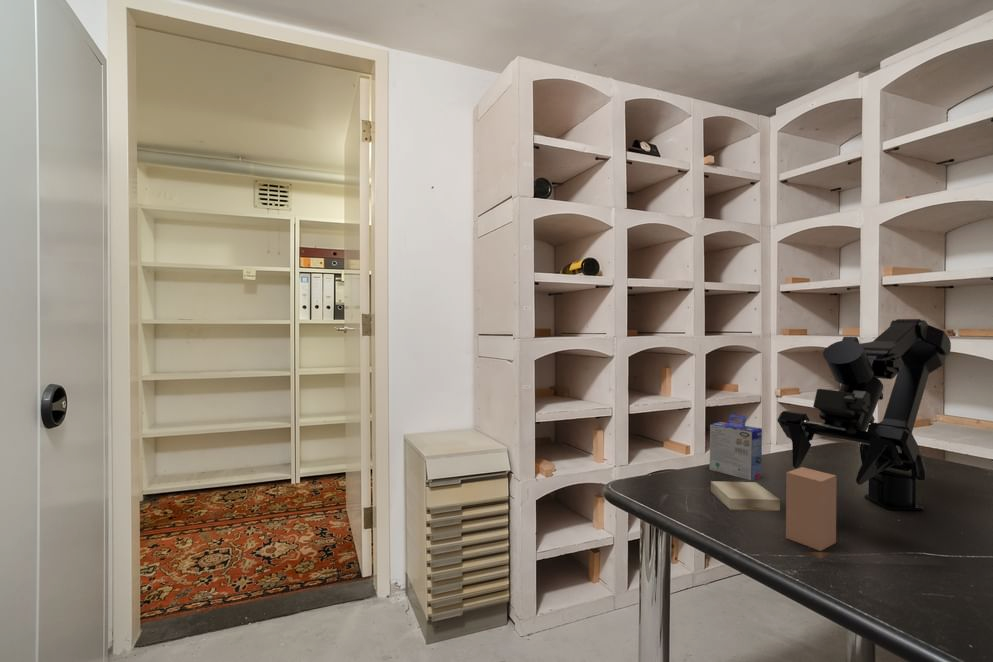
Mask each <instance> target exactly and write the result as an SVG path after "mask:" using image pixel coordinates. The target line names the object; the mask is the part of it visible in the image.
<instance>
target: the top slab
mask: <svg viewBox="0 0 993 662" xmlns="http://www.w3.org/2000/svg"><path fill="white" fill-rule="evenodd" d="M710 492H711V493H712V492H713V493H714V494H715V495H716V496H717V497H718V498H719V499H720V500H721V501H722V502H723V503H722V502H721V501H720V500H719V499H718V498H717V497H716V496H715V495H714V494H713V493H712V494H713V495H714V496H715V497H716V498H717V499H718V500H719V501H720V502H721V503H722V504H724V505H725V506H726V507H727V508H728V509H729V510H730V509H750V510H749V511H770V510H780V511H781V499H780V498H779V497H777V496H775V495H774V494H773V493H771V492H770V491H769V490H767V489H766V488H764V487H763V486H762V485H761V484H759V483H758V482H756V481H755V482H754V481H753V482H751V481H714V480H713V481H712V480H710Z"/></svg>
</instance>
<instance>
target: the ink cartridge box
mask: <svg viewBox="0 0 993 662" xmlns="http://www.w3.org/2000/svg"><path fill="white" fill-rule="evenodd" d="M737 418H738V419H741V420H742V421H738V420H733V419H737ZM746 421H747V416H746V415H739V414H732V413H730V416H729V418H728V422H723V421H718V422H714V423H712V424H709V470H710V471H712V472H713V471H714V472H716V473H717V472H718V473H720V474H725V475H730V476H734V477H736V478H741V479H745V480H748V481H753V480H756V479H758V478H760V477H762V475H763V473H762V471H763V469H762V468H763V467H762V466H763V461H762V460H763V457H762V455H763V429H762V428H761V427H755V426H749V425H746Z"/></svg>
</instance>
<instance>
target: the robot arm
mask: <svg viewBox="0 0 993 662" xmlns="http://www.w3.org/2000/svg"><path fill="white" fill-rule="evenodd" d="M951 350H952V342H951V339H950V337H949V336H948V335H947V333H946V332H945V331H944V330H942V329H940V328H937V327H934V326H932V325H930V324H928V323H927V321H926V320H925V319H921V318H898V319H895V320H894V319H893V320H891V322H890V325H889V327H887V329H885V330H884V331H883V332H882V333H880V335H878V336H877V337H876V338H875V339H874V340H872V341H868V342H862V343H860V341H859V338H858V337H857V336H843V338H842V340H840V341H836V342H834V343H831V344H830V345H828V346H827V347H826V348H824V349H823V352H822V356H823V359H824V362H825V363H826V364H827V366H828V369H829V371H830V373H831V375H832V377H833V379H834V382H837V383H838V384H840V386H839V389H838V390H833V389H826V388H818V389H816V393H815V397H814V401H813V408H815V409H818V411H820V412H819V413H818V415H819V416H818V417H819V418H820V420H824V422H823V423H820V422H815V421H811V420H810V418H809V417H808V414H807V413H803V412H799V411H791V410H783V411H782V412H780V413H779V415H778V418H777V419H776V420H777V422H778V424H779V426H780V428H781V429H782V431H783V432H784V435H785V436H786V438H788V439H789V440H791V444H792V445H791V449H792V450H791V451H792V466H793V468H794V470H795V469H798V468H800V466H801V464H802V463H803V461H804V460H805V457H806V456H807V454H808V452H809V450H810V449H811V446H812V444H811V442H810V441H812V440H813V438H814V436H815V435H819V436H824V437H829V438H835V439H838V440H843V441H847V442H852V443H857V444H860V445H859V455H860V461H861V466H860V468H859V469H858V472H857V476H856V479H855V482H856V484H857V485H859V486H861V485H864V484H865V483H866V482H867V481H868V493H867V494H866V493H865V494H864V498H865V499H868V500H870V501H871V502H873V503H876V504H877V505H879V506H881V507H883V508H885V509H887V510H896V511H897V510H899V511H900V510H901V511H902V510H903V511H904V510H906V511H909V510H910V511H923V509H924V507H923V506H921V505H920V504H919V505H918V504H917V481H926V480H927V465H926V462H925V459H924V458H923V455H922V453H921V452H920V451H921V450H920V447H919V445H918V443H917V441H916V439H915V437H914V435H913V430H914V426H915V424H916V419H917V416H918V412H919V410H920V407H921V404H922V403H921V402H922V399H923V395H924V393H925V390H926V389H925V388H926V385H927V382H928V379H929V375H930V374H931V373H932V372H934V371H935V370H938V369H939V368H941V367H942V366H943V365H944V363H945V359H946V357H947V356H949V355H950V353H951ZM894 378H895V380H894V384H893V387H892V390H891V392H890V396H889V399H888V402H887V406H886V409H885V412H884V415H883V418H882V420H881V421H880V422H875V421H876V420H875V417H874V413H875V410H876V407H877V405H878V403H879V401H882V400H883V399H884V393H883V390H884V384H883V382H882V380H880V379H883V380H893V379H894Z"/></svg>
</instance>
